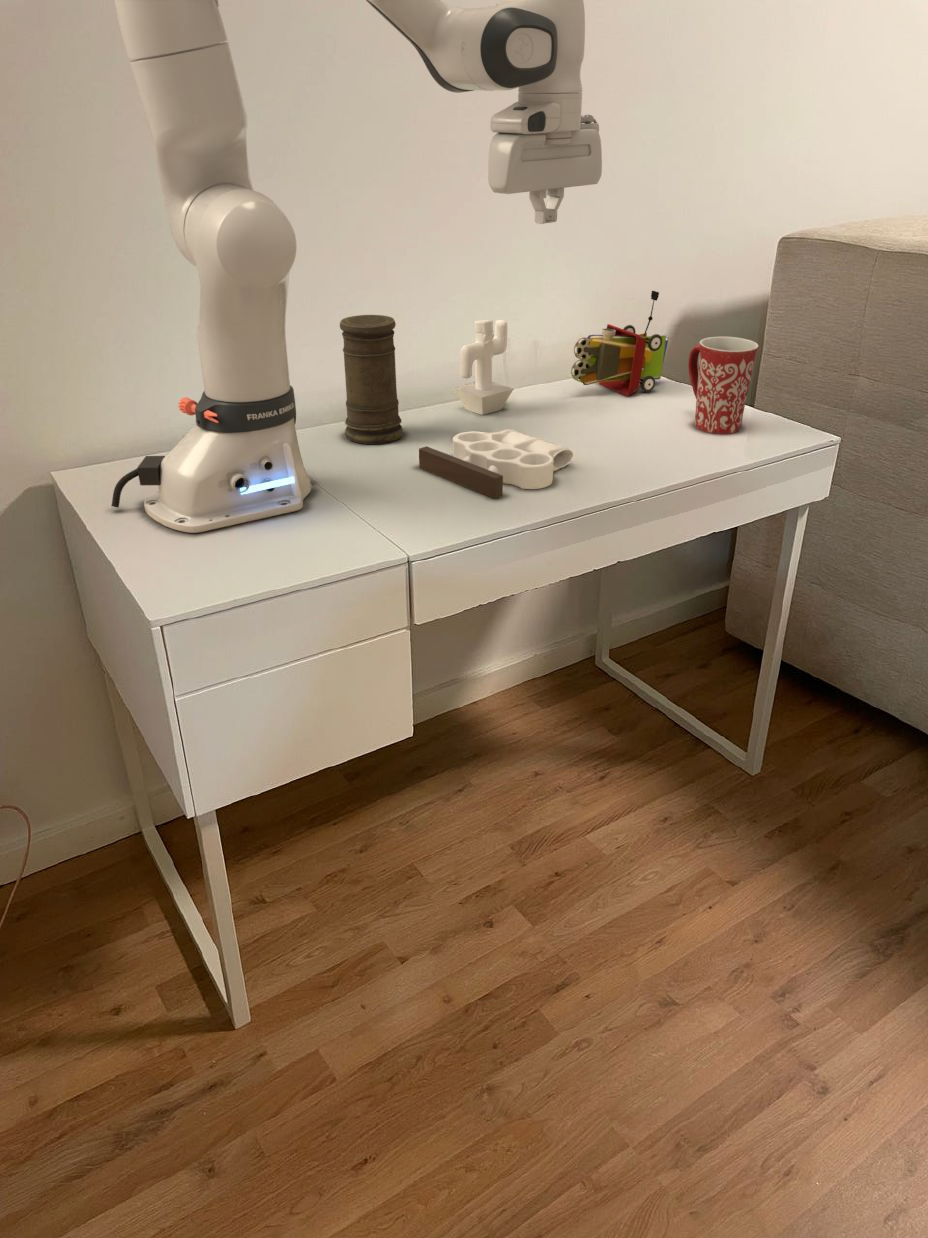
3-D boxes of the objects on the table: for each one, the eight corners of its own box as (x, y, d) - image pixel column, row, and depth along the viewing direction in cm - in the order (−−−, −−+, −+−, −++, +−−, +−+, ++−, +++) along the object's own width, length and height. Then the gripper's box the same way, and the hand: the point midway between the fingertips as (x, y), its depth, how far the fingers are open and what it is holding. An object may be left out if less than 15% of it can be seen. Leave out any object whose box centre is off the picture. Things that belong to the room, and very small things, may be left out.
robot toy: (675, 393, 177) (584, 399, 168) (644, 381, 184) (555, 385, 175) (693, 296, 169) (598, 296, 160) (660, 286, 176) (567, 286, 167)
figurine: (448, 410, 166) (447, 320, 158) (489, 399, 171) (490, 311, 164) (476, 420, 161) (477, 328, 154) (517, 408, 166) (520, 318, 159)
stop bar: (494, 499, 132) (495, 478, 130) (419, 467, 142) (418, 448, 140) (502, 496, 132) (503, 475, 131) (427, 465, 143) (426, 445, 141)
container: (412, 437, 154) (409, 321, 145) (362, 448, 149) (355, 329, 140) (384, 422, 160) (378, 310, 151) (335, 433, 156) (327, 318, 147)
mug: (758, 431, 156) (771, 346, 149) (712, 439, 152) (723, 352, 146) (709, 409, 165) (719, 328, 159) (665, 416, 162) (673, 334, 155)
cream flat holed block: (588, 471, 140) (517, 498, 132) (502, 440, 152) (431, 463, 143) (590, 449, 139) (517, 474, 130) (502, 420, 150) (430, 441, 142)
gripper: (582, 113, 144) (577, 213, 150) (481, 118, 132) (480, 227, 138) (615, 114, 139) (608, 217, 146) (514, 119, 128) (511, 231, 134)
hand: (545, 222), depth 142 cm, fingers closed
